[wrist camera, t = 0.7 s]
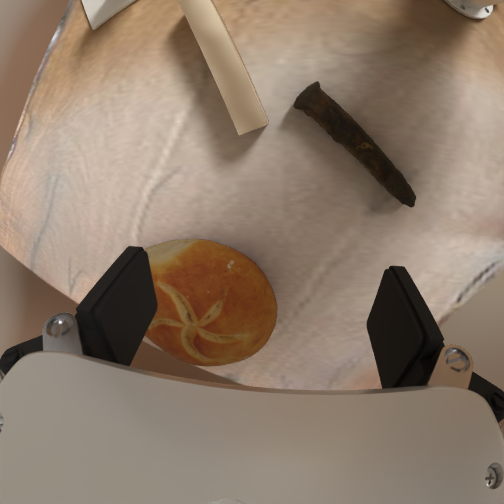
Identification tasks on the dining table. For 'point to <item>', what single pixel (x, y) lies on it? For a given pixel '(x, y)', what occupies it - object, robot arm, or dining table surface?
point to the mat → (103, 10)
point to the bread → (209, 302)
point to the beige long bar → (225, 64)
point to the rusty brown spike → (354, 140)
